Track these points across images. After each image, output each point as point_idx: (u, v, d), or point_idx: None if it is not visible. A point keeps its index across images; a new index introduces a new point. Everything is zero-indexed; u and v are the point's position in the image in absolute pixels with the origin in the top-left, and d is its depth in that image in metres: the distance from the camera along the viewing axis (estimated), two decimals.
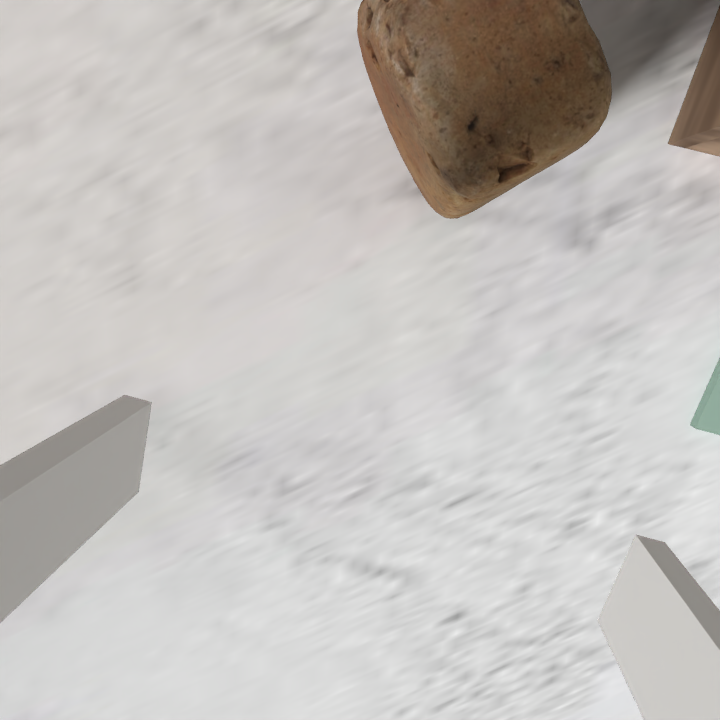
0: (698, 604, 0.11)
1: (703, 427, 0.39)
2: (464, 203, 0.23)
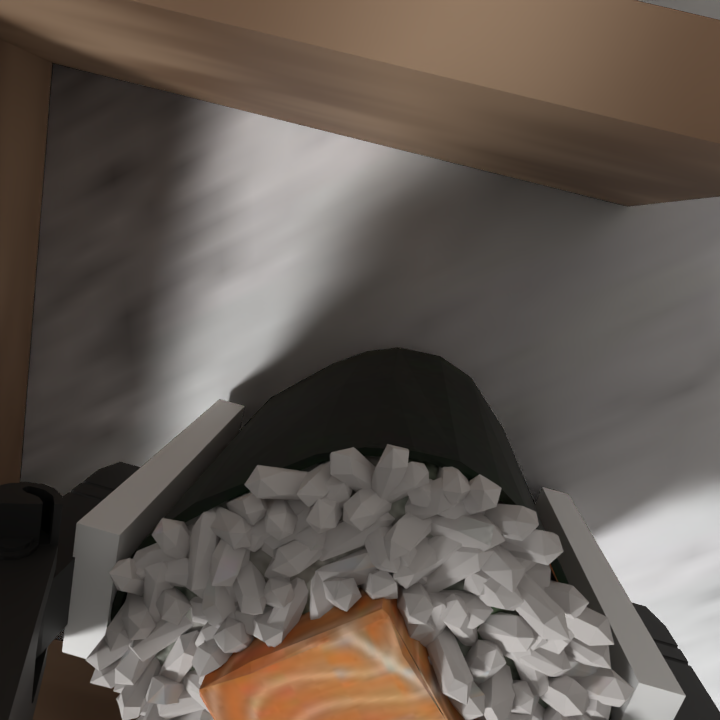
0: (579, 539, 0.12)
1: None
2: None
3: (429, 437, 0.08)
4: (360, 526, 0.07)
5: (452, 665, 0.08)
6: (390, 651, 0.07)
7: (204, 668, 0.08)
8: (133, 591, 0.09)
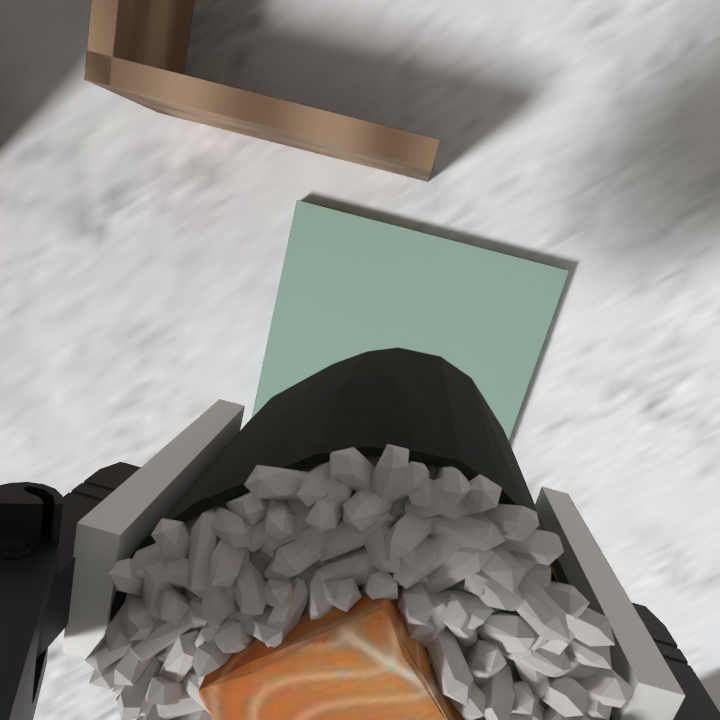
0: (579, 539, 0.12)
1: None
2: None
3: (429, 437, 0.08)
4: (360, 526, 0.07)
5: (452, 666, 0.07)
6: (390, 652, 0.07)
7: (204, 669, 0.08)
8: (132, 591, 0.08)
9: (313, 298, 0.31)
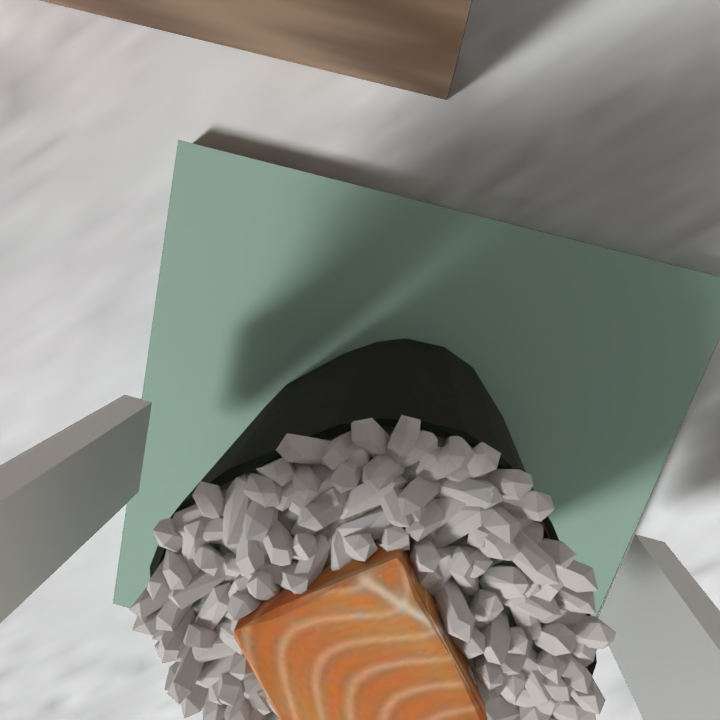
0: (698, 604, 0.11)
1: (127, 601, 0.19)
2: None
3: (437, 412, 0.09)
4: (377, 486, 0.08)
5: (456, 609, 0.09)
6: (403, 595, 0.08)
7: (238, 613, 0.09)
8: (173, 547, 0.10)
9: (221, 337, 0.16)
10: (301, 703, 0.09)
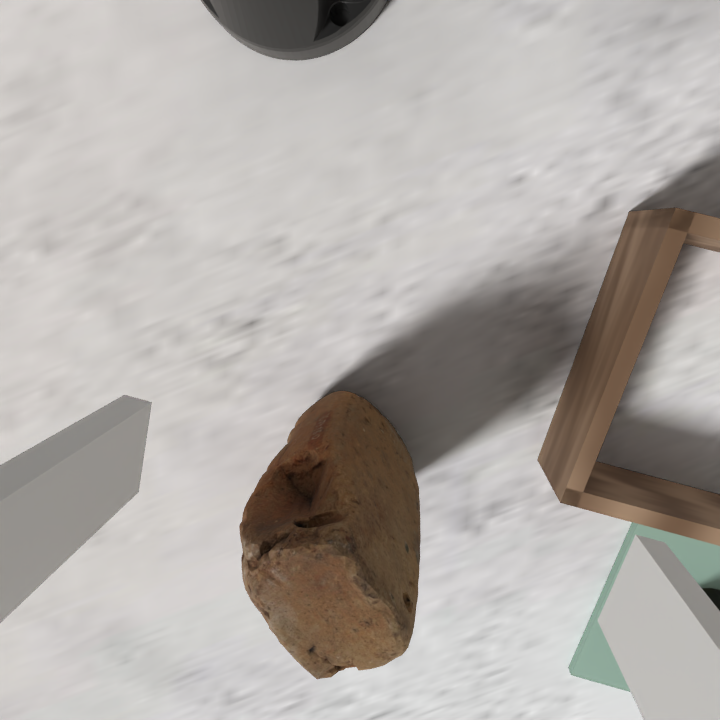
0: (698, 604, 0.11)
1: (577, 674, 0.47)
2: None
3: None
4: None
5: None
6: None
7: None
8: None
9: None
10: None
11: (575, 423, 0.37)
